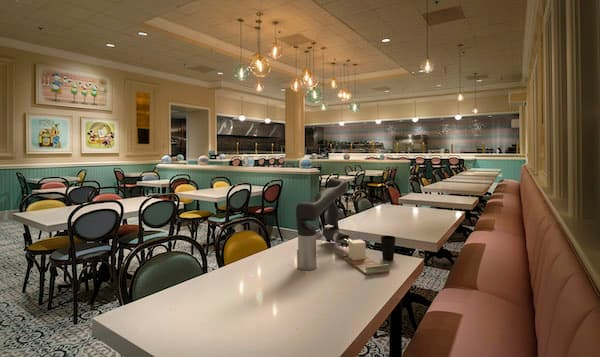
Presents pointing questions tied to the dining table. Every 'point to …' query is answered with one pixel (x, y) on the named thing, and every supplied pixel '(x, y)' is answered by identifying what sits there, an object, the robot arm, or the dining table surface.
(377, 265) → the track
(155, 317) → the dining table surface
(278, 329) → the dining table surface
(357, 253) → the block
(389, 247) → the cup
